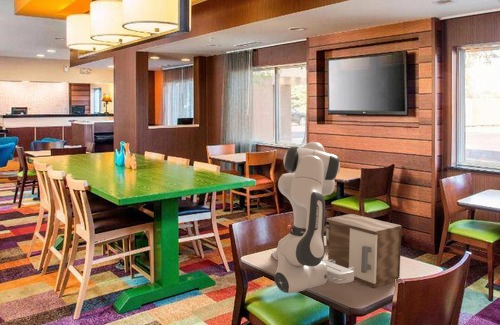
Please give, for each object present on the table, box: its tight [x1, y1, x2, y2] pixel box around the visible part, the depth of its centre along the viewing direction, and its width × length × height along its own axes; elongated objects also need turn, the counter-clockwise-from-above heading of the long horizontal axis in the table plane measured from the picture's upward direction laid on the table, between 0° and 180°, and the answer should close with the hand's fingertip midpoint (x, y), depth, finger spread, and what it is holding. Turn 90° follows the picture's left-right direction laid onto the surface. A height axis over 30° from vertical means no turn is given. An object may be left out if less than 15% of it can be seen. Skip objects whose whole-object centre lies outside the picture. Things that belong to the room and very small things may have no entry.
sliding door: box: [349, 228, 378, 284], centre depth 185 cm, size 5×13×19 cm, turn 36°
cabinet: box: [325, 213, 402, 289], centre depth 196 cm, size 16×26×22 cm, turn 36°
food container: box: [324, 224, 329, 247], centre depth 235 cm, size 12×6×10 cm, turn 17°
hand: (343, 265), depth 175 cm, fingers open, 8 cm apart
